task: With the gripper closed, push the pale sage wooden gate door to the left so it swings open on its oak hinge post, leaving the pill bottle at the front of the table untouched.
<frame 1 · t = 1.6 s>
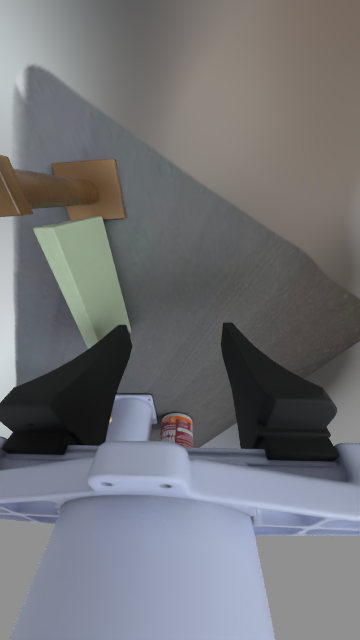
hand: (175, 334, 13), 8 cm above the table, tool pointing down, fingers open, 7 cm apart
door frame: (93, 192, 16), on the table
pill bottle: (177, 418, 37), on the table
door: (106, 299, 16), point 4 cm above the table, hinge at 0.0°
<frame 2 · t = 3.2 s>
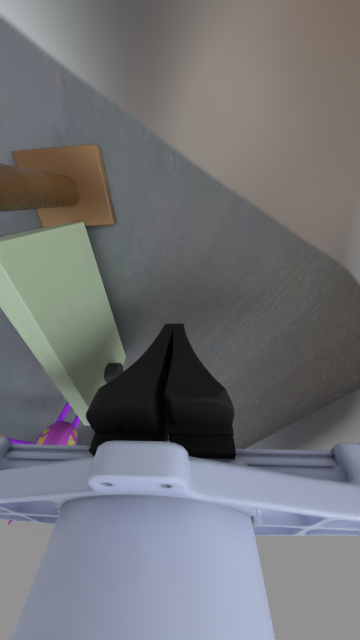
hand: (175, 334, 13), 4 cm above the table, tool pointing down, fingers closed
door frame: (71, 191, 12), on the table
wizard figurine: (81, 395, 25), on the table
door: (90, 329, 13), point 4 cm above the table, hinge at 0.0°
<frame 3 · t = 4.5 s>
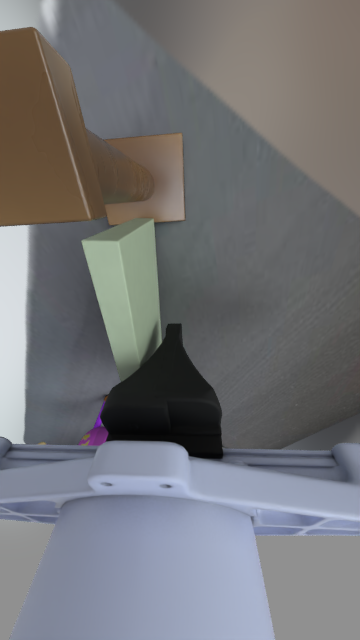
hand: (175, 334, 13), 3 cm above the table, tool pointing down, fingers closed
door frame: (143, 185, 11), on the table
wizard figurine: (114, 398, 25), on the table
door: (151, 332, 12), point 4 cm above the table, hinge at 3.8°, touching gripper
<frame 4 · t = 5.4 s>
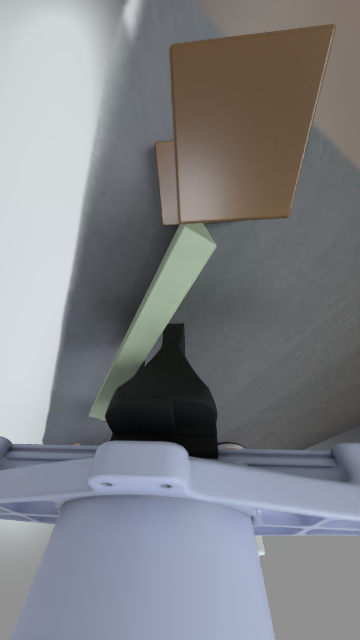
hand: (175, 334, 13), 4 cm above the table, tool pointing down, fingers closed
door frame: (200, 185, 11), on the table
door: (151, 323, 12), point 4 cm above the table, hinge at 32.3°, touching gripper
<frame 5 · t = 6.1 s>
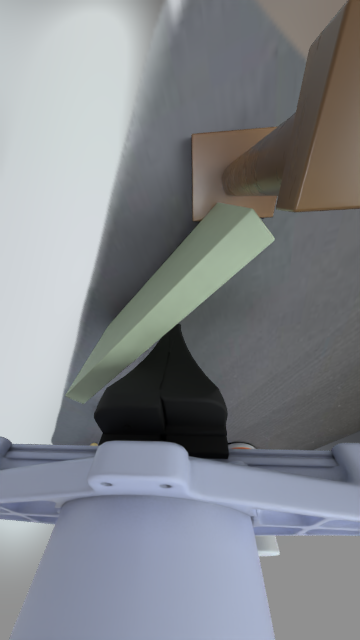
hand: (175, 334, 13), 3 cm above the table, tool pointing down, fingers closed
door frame: (233, 180, 11), on the table
pill bottle: (237, 448, 32), on the table
door: (156, 309, 11), point 4 cm above the table, hinge at 46.1°, touching gripper
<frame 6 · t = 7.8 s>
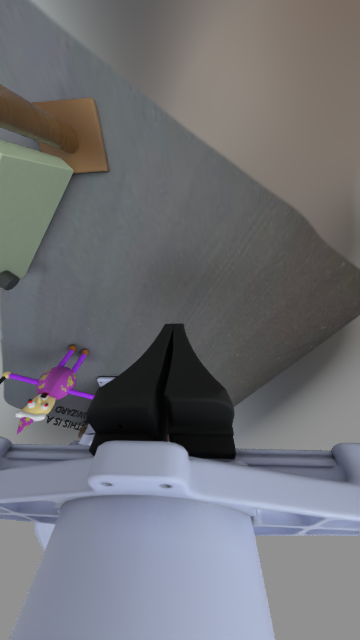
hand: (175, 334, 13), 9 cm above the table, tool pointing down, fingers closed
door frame: (72, 141, 14), on the table
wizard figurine: (80, 349, 28), on the table
door: (16, 238, 15), point 4 cm above the table, hinge at 46.3°
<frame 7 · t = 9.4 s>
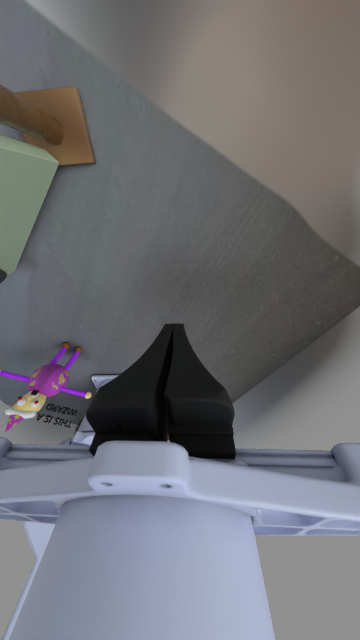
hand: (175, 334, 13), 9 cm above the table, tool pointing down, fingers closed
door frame: (57, 132, 14), on the table
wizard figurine: (73, 347, 28), on the table
door: (1, 231, 14), point 4 cm above the table, hinge at 46.3°
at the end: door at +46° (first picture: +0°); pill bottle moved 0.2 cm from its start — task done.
